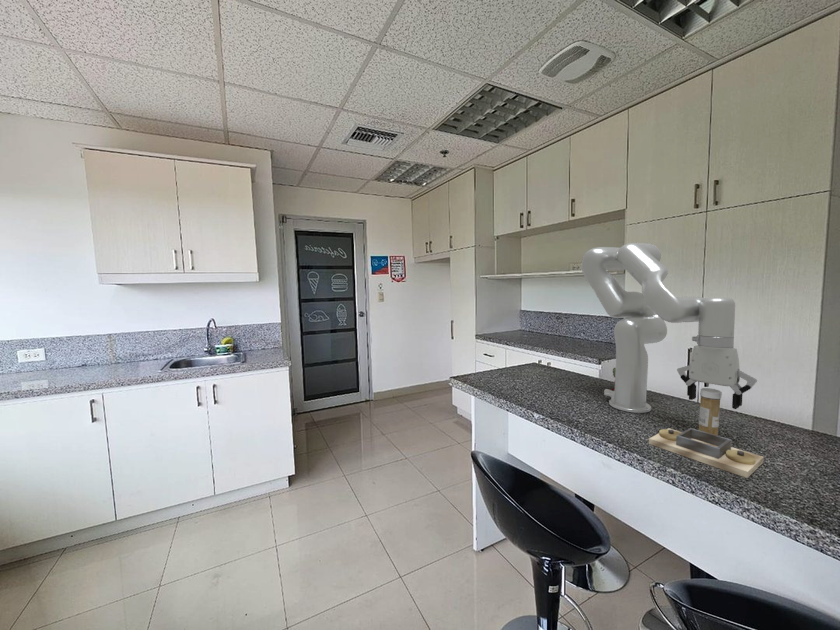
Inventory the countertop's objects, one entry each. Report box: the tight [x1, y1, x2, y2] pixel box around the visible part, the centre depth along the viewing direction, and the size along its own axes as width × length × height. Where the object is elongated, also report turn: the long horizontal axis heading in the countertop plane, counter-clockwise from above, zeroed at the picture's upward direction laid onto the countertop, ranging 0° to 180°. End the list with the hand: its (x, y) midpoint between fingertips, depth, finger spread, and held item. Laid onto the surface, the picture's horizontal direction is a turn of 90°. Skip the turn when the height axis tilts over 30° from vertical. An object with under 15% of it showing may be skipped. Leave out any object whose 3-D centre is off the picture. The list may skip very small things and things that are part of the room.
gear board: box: [648, 427, 765, 479], centre depth 89 cm, size 20×12×4 cm, turn 33°
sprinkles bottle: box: [698, 387, 723, 436], centre depth 98 cm, size 5×5×13 cm
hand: (713, 403), depth 97 cm, fingers open, 9 cm apart
